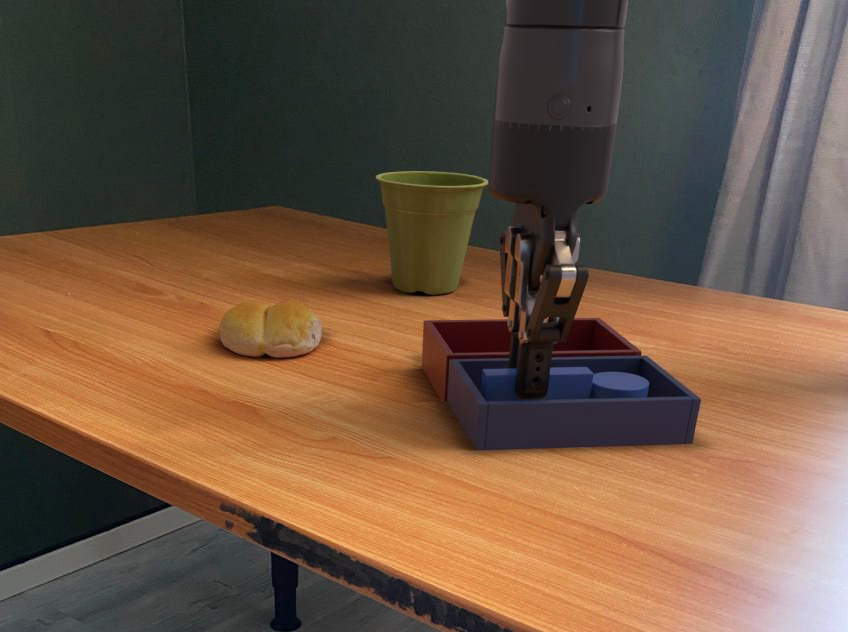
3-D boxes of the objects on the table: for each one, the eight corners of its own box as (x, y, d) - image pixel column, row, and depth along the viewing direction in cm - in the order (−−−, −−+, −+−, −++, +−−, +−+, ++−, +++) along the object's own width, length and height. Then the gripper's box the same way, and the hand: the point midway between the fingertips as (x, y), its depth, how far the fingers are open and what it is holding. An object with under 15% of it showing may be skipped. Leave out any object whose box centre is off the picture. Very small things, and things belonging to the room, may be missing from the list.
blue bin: (638, 406, 77) (647, 355, 75) (690, 455, 68) (701, 398, 66) (446, 411, 75) (449, 359, 73) (475, 462, 67) (479, 404, 65)
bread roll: (234, 332, 93) (232, 288, 91) (327, 338, 92) (327, 293, 90) (206, 356, 87) (203, 309, 84) (306, 363, 85) (306, 316, 83)
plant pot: (446, 306, 103) (453, 189, 97) (352, 290, 109) (353, 178, 103) (499, 286, 111) (508, 177, 106) (409, 272, 117) (413, 167, 111)
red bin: (593, 364, 86) (599, 317, 84) (634, 402, 78) (642, 351, 76) (421, 367, 85) (423, 320, 83) (443, 407, 76) (446, 355, 74)
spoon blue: (489, 410, 68) (491, 381, 67) (476, 391, 72) (478, 363, 71) (655, 405, 69) (660, 377, 68) (634, 386, 73) (638, 359, 72)
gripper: (654, 125, 55) (609, 424, 65) (580, 107, 67) (550, 363, 76) (524, 124, 55) (496, 427, 64) (471, 105, 66) (454, 364, 75)
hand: (526, 391), depth 70 cm, fingers closed on spoon blue
